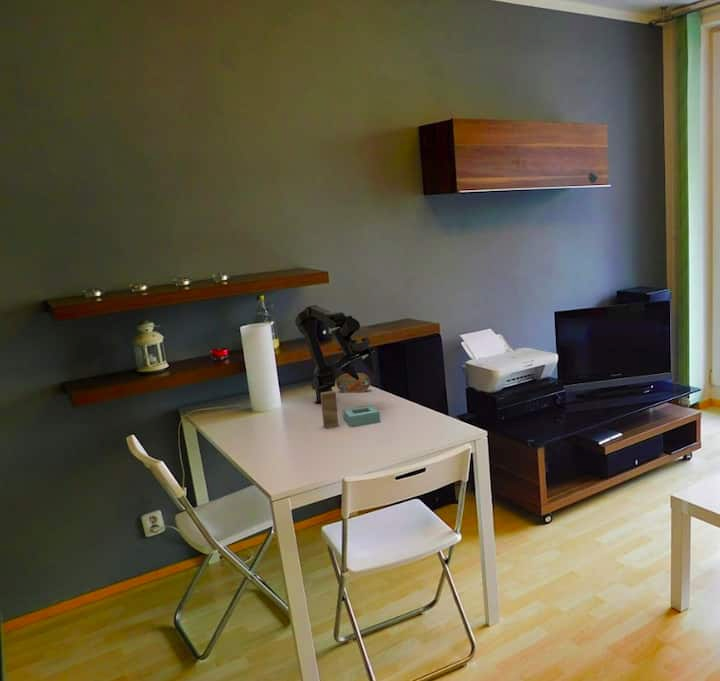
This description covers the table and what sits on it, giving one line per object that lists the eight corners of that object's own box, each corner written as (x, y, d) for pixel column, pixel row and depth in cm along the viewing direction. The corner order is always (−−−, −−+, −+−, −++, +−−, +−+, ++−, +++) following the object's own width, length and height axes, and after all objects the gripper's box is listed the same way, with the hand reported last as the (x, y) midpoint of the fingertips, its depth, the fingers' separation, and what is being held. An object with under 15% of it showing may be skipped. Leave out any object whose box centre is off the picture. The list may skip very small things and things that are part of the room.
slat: (323, 426, 228) (320, 392, 225) (336, 424, 229) (333, 390, 226) (325, 428, 225) (322, 394, 222) (338, 426, 226) (335, 392, 224)
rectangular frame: (344, 419, 233) (343, 409, 232) (372, 415, 236) (371, 405, 235) (350, 427, 224) (349, 416, 223) (380, 421, 227) (379, 411, 226)
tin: (337, 392, 272) (335, 374, 270) (339, 391, 275) (337, 372, 273) (370, 392, 268) (368, 373, 267) (371, 390, 271) (370, 372, 270)
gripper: (341, 338, 226) (362, 374, 223) (373, 326, 239) (393, 360, 237) (325, 351, 233) (345, 386, 231) (356, 339, 247) (376, 372, 244)
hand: (366, 376), depth 235 cm, fingers open, 9 cm apart
